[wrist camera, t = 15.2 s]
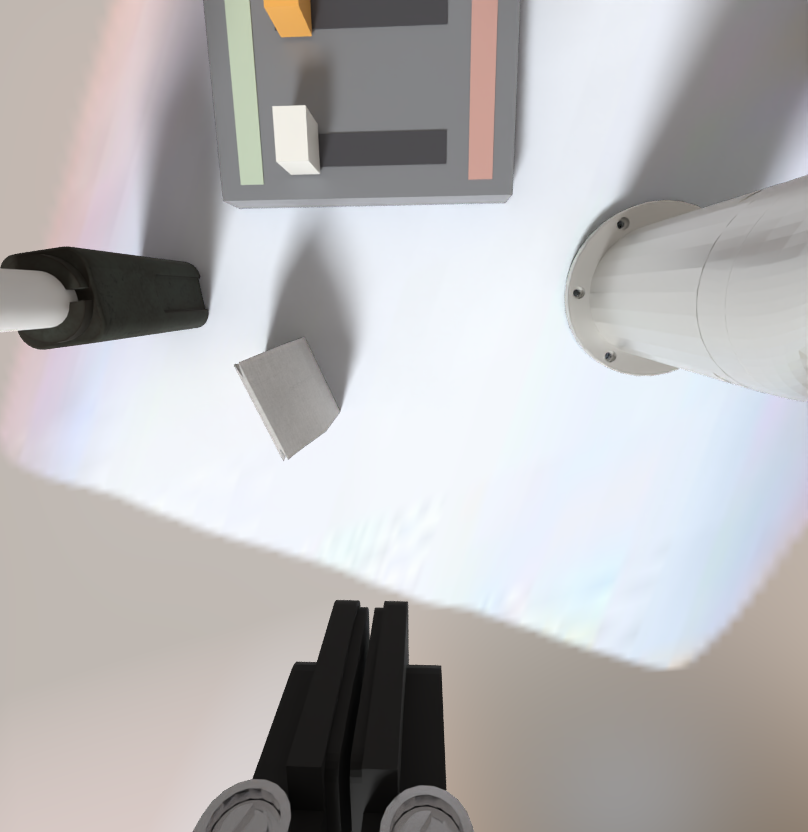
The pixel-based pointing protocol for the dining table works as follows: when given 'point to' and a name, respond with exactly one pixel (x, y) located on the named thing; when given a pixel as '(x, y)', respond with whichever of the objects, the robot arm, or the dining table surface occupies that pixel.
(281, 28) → the breaker handle
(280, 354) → the grey piece
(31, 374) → the dining table surface
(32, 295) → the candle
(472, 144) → the breaker panel
